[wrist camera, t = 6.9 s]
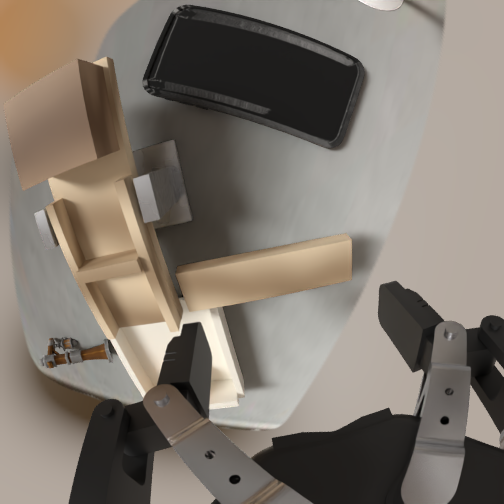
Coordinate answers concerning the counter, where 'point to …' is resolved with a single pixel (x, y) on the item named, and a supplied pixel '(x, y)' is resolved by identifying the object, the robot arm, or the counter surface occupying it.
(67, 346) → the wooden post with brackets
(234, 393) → the tray
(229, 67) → the phone
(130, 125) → the counter surface
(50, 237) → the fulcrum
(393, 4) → the champagne flute
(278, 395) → the counter surface
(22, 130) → the lever
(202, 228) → the counter surface
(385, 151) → the counter surface
